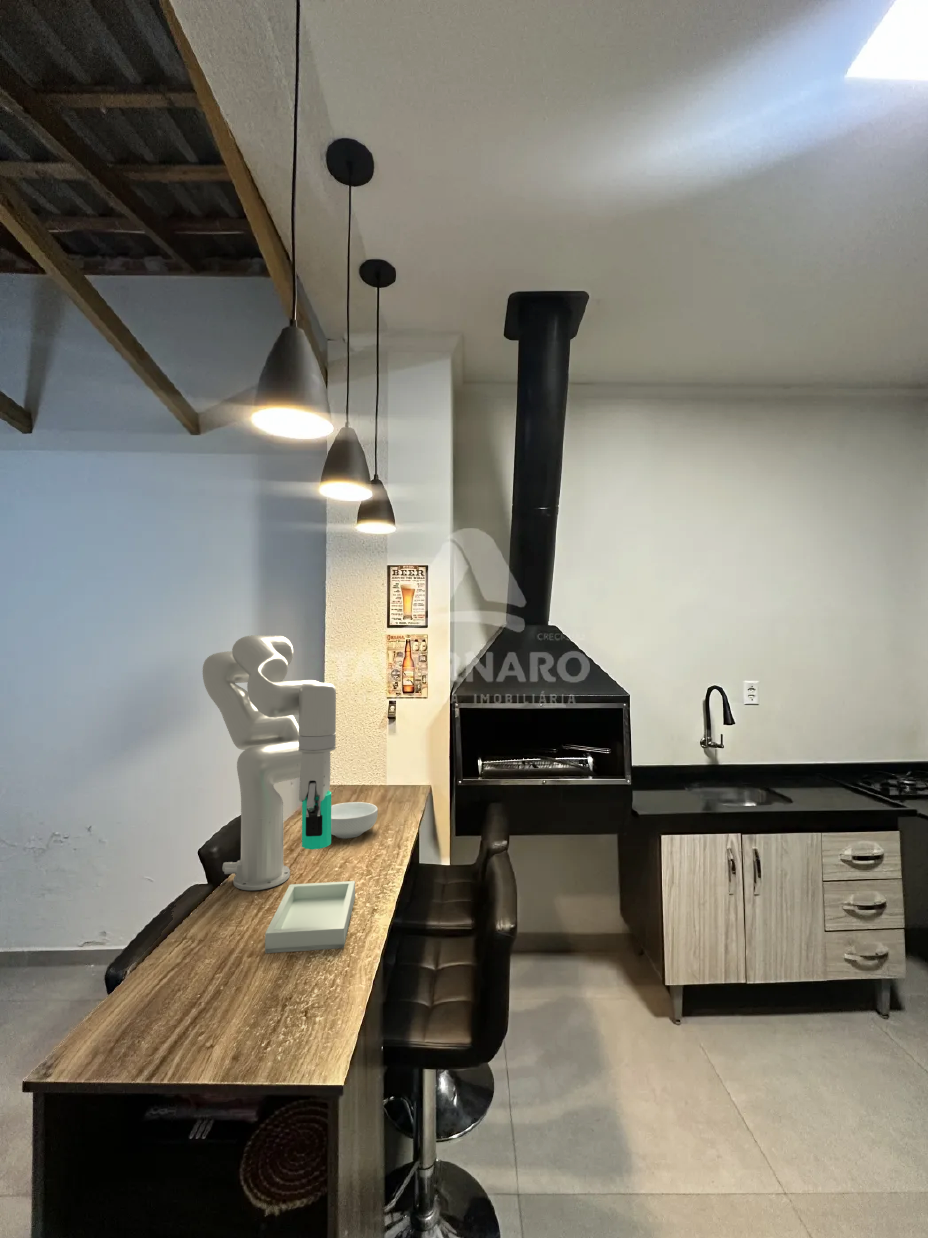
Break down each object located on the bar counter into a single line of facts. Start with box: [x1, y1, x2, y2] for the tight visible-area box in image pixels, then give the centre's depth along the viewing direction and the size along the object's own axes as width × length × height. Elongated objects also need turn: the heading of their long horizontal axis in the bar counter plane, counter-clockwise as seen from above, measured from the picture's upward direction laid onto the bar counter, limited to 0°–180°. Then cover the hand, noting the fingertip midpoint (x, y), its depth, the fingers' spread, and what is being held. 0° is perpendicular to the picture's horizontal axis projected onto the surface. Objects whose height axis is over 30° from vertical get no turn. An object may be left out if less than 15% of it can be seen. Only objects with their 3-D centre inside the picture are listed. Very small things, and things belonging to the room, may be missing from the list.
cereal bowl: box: [331, 801, 379, 839], centre depth 158 cm, size 17×17×7 cm
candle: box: [301, 789, 332, 850], centre depth 112 cm, size 6×6×12 cm
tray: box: [264, 880, 356, 954], centre depth 108 cm, size 14×20×4 cm
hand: (316, 829), depth 112 cm, fingers closed on candle, 4 cm apart
